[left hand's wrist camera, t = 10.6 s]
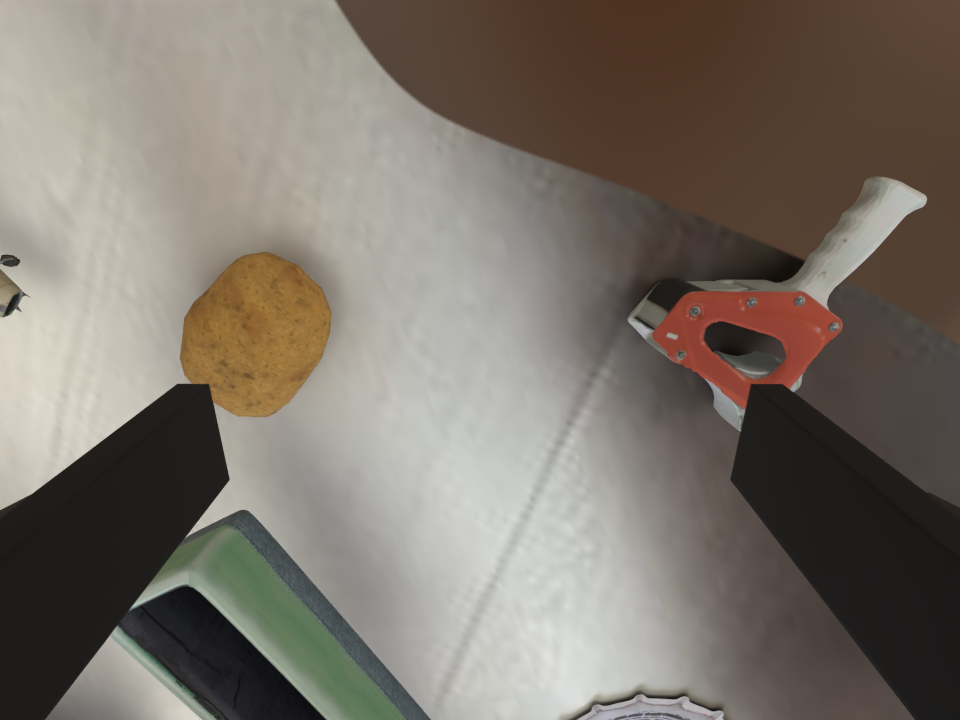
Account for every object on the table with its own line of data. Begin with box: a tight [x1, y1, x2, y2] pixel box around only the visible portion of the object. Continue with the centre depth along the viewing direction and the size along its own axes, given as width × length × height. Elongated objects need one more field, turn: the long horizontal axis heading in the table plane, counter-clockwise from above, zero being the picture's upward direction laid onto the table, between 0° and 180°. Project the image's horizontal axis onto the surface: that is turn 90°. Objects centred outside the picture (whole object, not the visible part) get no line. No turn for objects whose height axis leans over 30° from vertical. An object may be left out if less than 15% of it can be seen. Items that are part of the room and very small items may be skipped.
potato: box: [180, 252, 331, 417], centre depth 37 cm, size 9×13×7 cm
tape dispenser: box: [627, 176, 927, 432], centre depth 38 cm, size 18×5×20 cm
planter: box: [110, 510, 431, 720], centre depth 35 cm, size 28×7×7 cm, turn 28°
